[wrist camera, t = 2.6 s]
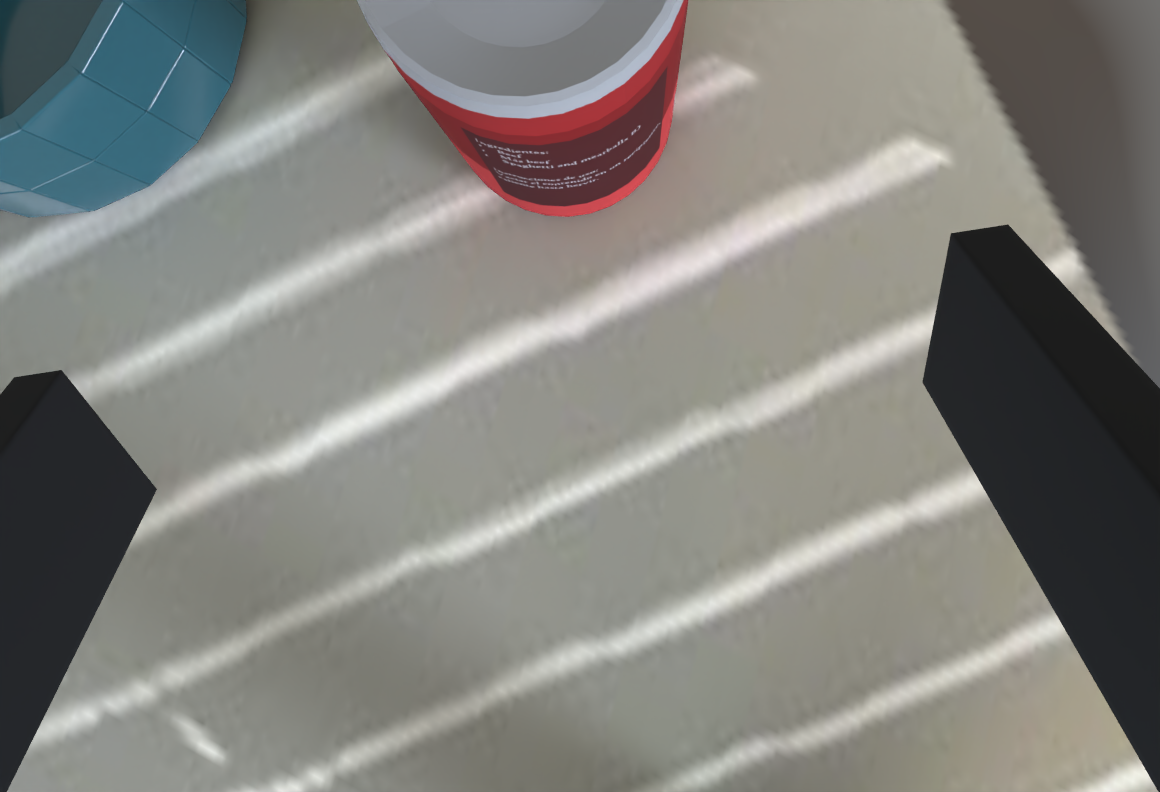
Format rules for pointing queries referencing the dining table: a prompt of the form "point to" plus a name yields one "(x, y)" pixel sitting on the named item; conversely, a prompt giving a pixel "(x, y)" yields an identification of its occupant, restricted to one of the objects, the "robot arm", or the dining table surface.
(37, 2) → the teal pet bowl
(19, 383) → the robot arm
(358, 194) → the dining table surface
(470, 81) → the canned food
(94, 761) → the dining table surface
